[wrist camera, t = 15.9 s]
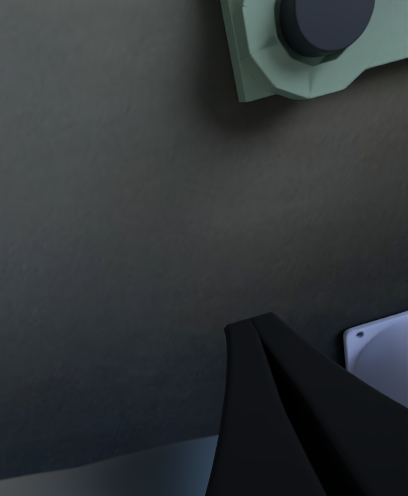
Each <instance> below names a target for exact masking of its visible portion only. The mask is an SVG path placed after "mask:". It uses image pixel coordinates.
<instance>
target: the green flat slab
mask: <svg viewBox="0 0 408 496" xmlns="http://www.w3.org/2000/svg"><path fill="white" fill-rule="evenodd" d="M220 3H221V9H222V14H223V19H224V25H225V30H226V35H227V41H228V46H229V51H230V56H231V62H232V67H233V72H234V78H235V83H236V88H237V94H238V99H239V102H250V101H253V100H257V99H260V98H264V97H268V96H271V95H275V94H278V95H281V96H284V97H287V98H290V99H293V100H303V99H312V98H316V97H320V96H323V95H327V94H330V93H334V92H338V91H341V90H344V89H345V88H347V87H348V86H349V85H350V84H351V83H352V82H353V81H354V80H355V79H356V78H357V77H358V76H359V75H360V74H361V73H362V72H363V71H364V70H365V69H369V68H373V67H376V66H380V65H384V64H387V63H391V62H394V61H398V60H402V59H405V58H408V0H375V6H374V10H373V13H372V16H371V19H370V21H369V24H368V25H367V27H366V29H365V31H364V32H363V33H362V35H361V36H360V37H359V38H358V39H357V40H356V41H355V42H354V43H353V44H352V45H350V46H349V47H347V48H345V49H343V50H340V51H337V52H334V53H331V54H327V55H324V56H321V57H313V58H311V57H305V56H302V55H300V54H298V53H296V52H295V51H294V50H292V49H291V48H290V46H289V45H288V44H287V42H286V41H285V39H284V37H283V34H282V31H281V27H280V20H279V12H280V4H281V0H220Z"/></svg>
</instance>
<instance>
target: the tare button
mask: <svg viewBox="0 0 408 496" xmlns="http://www.w3.org/2000/svg"><path fill="white" fill-rule="evenodd" d="M374 6H375V0H281V4H280V12H279V20H280V27H281V31H282V34H283V37H284V39H285V41H286V42H287V44H288V45H289V46H290V48H291V49H292V50H294V51H295V52H296V53H298V54H300V55H302V56H305V57H311V58H313V57H321V56H324V55H327V54H331V53H334V52H337V51H340V50H343V49H345V48H347V47H349V46H350V45H352V44H353V43H354V42H355V41H356V40H357V39H358V38H359V37H360V36H361V35H362V33H363V32H364V31H365V29H366V27H367V25H368V24H369V21H370V19H371V16H372V13H373V10H374Z"/></svg>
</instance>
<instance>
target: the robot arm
mask: <svg viewBox="0 0 408 496" xmlns="http://www.w3.org/2000/svg"><path fill="white" fill-rule="evenodd" d="M224 331H225V335H226V343H227V372H226V387H225V396H224V404H223V411H222V418H221V425H220V431H219V437H218V442H217V447H216V452H215V457H214V461H213V466H212V471H211V475H210V479H209V483H208V486H207V490H206V494H205V496H408V311H406V312H402V313H399V314H396V315H392V316H389V317H386V318H382V319H379V320H376V321H372V322H369V323H366V324H362V325H359V326H356V327H352V328H349V329H347V330H346V331H345V332H344V334H343V341H344V352H345V363H346V369H344V368H343V367H341V366H340V365H339V364H337V363H336V362H334V361H333V360H332V359H330V358H329V357H327V356H326V355H325V354H323V353H322V352H321V351H319V350H318V349H317V348H315V347H314V346H313V345H311V344H310V343H309V342H307V341H306V340H305V339H304V338H302V337H301V336H300V335H299V334H298V333H296V332H295V331H294V330H293V329H291V328H290V327H289V326H288V325H287V324H286V323H284V322H283V321H282V320H281V319H280V318H279V317H278V316H277V315H276V314H274V313H272V312H270V313H266V314H263V315H259V316H256V317H252V318H249V319H245V320H242V321H238V322H235V323H231V324H228V325H227V326H226V327H225V329H224ZM359 332H360V333H359ZM357 333H359V334H357Z"/></svg>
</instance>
